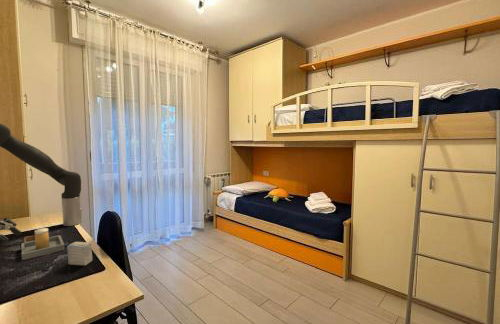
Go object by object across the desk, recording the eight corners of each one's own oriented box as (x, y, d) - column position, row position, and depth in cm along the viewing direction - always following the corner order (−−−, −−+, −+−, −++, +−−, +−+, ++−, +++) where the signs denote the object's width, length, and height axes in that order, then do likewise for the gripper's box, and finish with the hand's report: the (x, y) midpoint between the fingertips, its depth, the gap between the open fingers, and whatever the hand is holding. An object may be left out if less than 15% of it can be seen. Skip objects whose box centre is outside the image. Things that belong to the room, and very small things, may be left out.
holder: (46, 236, 132) (46, 232, 132) (48, 241, 126) (47, 237, 126) (24, 241, 126) (23, 237, 126) (24, 246, 119) (24, 243, 119)
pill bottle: (48, 244, 121) (47, 227, 120) (49, 248, 117) (48, 230, 116) (35, 247, 117) (34, 229, 116) (36, 251, 114) (34, 232, 113)
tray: (60, 240, 128) (60, 235, 128) (64, 249, 117) (64, 244, 117) (21, 248, 117) (21, 243, 117) (22, 260, 107) (21, 254, 106)
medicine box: (92, 260, 107) (91, 242, 106) (84, 266, 103) (83, 246, 102) (76, 259, 108) (75, 241, 107) (68, 264, 104) (66, 245, 103)
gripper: (-26, 214, 103) (8, 237, 107) (-1, 205, 117) (29, 226, 121) (-40, 227, 103) (-5, 250, 106) (-13, 216, 116) (17, 237, 120)
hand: (13, 237), depth 114 cm, fingers open, 8 cm apart
